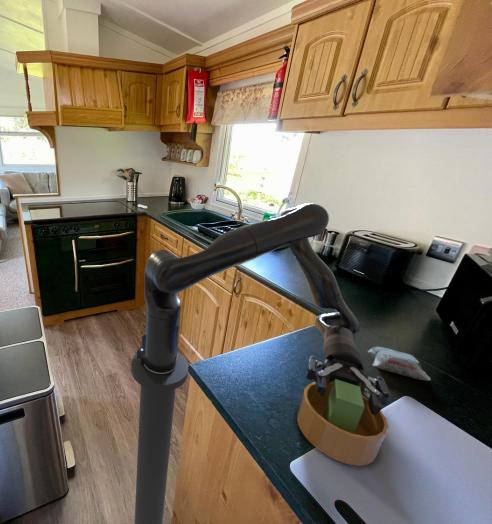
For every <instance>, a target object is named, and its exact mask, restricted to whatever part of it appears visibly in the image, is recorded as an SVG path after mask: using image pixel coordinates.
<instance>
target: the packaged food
mask: <svg viewBox="0 0 492 524" xmlns="http://www.w3.org/2000/svg"><path fill="white" fill-rule="evenodd" d="M367 353H368V354H370V355H371V357H372V358H373V359H374V360H373V363H372V365H371V366H372V367H374V368H378V369H379V370H381V371H386V372H390V373H394V374H397V375H400V376H403V377H407V378H411V379H415V380H421V381H427V382H430V381H431V380H432V378H431V377H430V376H429V375H428V374H427V373H426V371H424V370H423V368H422V366H421V363H420V362H419V360H418V359H417V358H416V357H414V355H412V354H409V353H406V352H402V351H397V350H395V349H391V348H387V347H383V346H373V347H371V348H369V349H368V350H367Z"/></svg>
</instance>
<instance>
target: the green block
mask: <svg viewBox="0 0 492 524" xmlns="http://www.w3.org/2000/svg"><path fill="white" fill-rule="evenodd" d="M332 383H333V386H332V389H331V392H330V395H329V398H328V401H327V404H326V407H325V410H324V413H323V418H324V419H325V420H326V421H328V422H329V423H331V424H333V425H334V426H336V427H338V428H340V429H342V430H344V431H347V432H350V433H352V434H354V433H355V430H356V427H357V425H358V422H359V420H360V417H361V415H362V412H363V410H364V403H363V398H362V394H361V389H360V388H361V386H356V385H352V384H349V383H346V382H343V381H340V380H337V379H335V380H334V382H332Z"/></svg>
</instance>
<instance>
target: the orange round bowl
mask: <svg viewBox="0 0 492 524" xmlns="http://www.w3.org/2000/svg"><path fill="white" fill-rule="evenodd" d="M333 383H334V382H331V383H329V384H326V392H325V395H324V396H321V395H320V393H319V392H317V390H316V382H315V381H313V382H311V383H309V384H307V385H306V387H305V388H304V390H303V393H302V397H301V400H300V403H299V407H298V411H297V416H296V420H297V425H298V427H299V430H300V431H301V433H302V435H303V436H304V437H305V439H306V440H307V441H308V442H309V443H310V444H311V445H312V446H313V447H315V448H316V449H317V450H318V451H320V452H321V453H323V455H326V456H327V457H329V458H331V459H333V460H335V461H336V462H340V463H342V464H346V465H349V466H357V467H358V466H359V467H361V466H367V465H370V464H371V463H372V462H374V460H375V459H377V456H378V454H379V451H380V450H381V446H382V445H383V442H384V440H385V438H386V436H387V433H388V429H389V424H388V421H387V418H386V416H385V415H384V413H383V412H382V410H381V411H380V413H377V415H374V414H371V411H370V407H369V403H368V401H369V400H368V399H367V398H366V397H364V396H363V395H362V398H363V403H364V410H363V412H362V415H361V417H360V420H359V422H358V425H357V427H356V430H355V433H354V434H352V433H350V432H347V431H344V430H342V429H340V428H338V427H336V426H334V425H333V424H331V423H329V422H328V421H326V420H325V419H324V418H323V413H324V410H325V407H326V404H327V401H328V398H329V395H330V392H331V389H332V386H333Z"/></svg>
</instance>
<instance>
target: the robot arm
mask: <svg viewBox="0 0 492 524" xmlns="http://www.w3.org/2000/svg"><path fill="white" fill-rule="evenodd" d="M329 215H330V214H329V213H328V211H327V209H326V208H324V207H323V206H322V205H320V204H317V203H303V204H301V205H297V206H295V207H294V206H293V207H291V208H288V209H285V210H284V211H282V212H281V214H280V216H279V217H275V218H272V219H266V220H262V221H257V222H253V223H250V224H245V225H242V226H239V227H237V228H234V229H231V230H228V231H226V232H223V233H222V234H221V235H218V237H217V238H215V240H213V242H212V243H210V245H208V246H207V247H206V248H205V249H204V250H201V251H199V252H196V253H193V254H191V255H187V256H182V257H179V256H178V255H176V254H175V253H174V252H172V251H171V250H167V249H159V250H156V251H154V252H152V253H151V254H150V256H149V257H148V258H147V260H146V262H145V266H144V279H143V280H144V283H143V287H144V288H143V292H144V301H145V307H146V308H145V329H144V333H143V334H142V336H141V344H140V346H139V347H138V348H137V350H136V353H137V358H139V359H141V365H143V366H144V367H145V369H146V370H147V371H149V372H150V373H152V374H155V375H167V374H170V373H172V372H173V371H174V370H175V369H176V362H177V356H178V354H177V352H178V349H179V339H180V338H179V337H180V327H181V318H182V307H183V306H182V302H181V299H180V296H179V293H181V292H183V291H185V290H187V289H188V288H191V287H193V286H194V285H196V284H198V283H201V282H202V281H204V280H207V278H210V277H212V276H214V275H218V274H220V273H222V272H225V271H227V270H229V269H231V268H234V267H237V266H240V265H243V264H246V263H247V262H251V261H253V260H256V259H257V258H260V257H263V256H265V255H266V254H269V253H272V252H274V251H275V250H277V249H280V248H281V247H283V246H286V245H287V246H288V248H289V249H290V251H291V253H292V254H293V256H294V259H295V260H296V262H297V264H298V265H299V267H300V269H301V272H302V274H303V276H304V278H305V280H306V284H307V286H308V289H309V292H310V295H311V297H312V300H313V303H314V305H315V306H316V307H317V308H319V309H325V310H326V309H327V310H328V309H329V310H335V312H328V313H322V314H319V315H317V317H316V318H315V319H314V326H315V329H316V331H317V333H318V335H319V336H320V337H321V339H322V342H323V345H322V351H321V354H322V360H323V361H320V360H317V357H316V356H314V355H310V356H309V360H308V363H307V366H306V367H307V368H306V375H305V378H306V379H307V380H309V381H312V380H313V382H316V390H317V392H319V393H320V395H321V396H324V395H325V392H326V384H329V383H331V382H332V383H334V380H335V379H337V380H340V381H343V382H346V383H349V384H352V385H356V386H359V387H360V389H361V394H362V395H363V396H364V397H366V398H367V399H368V400H369V401H368V403H369V407H370V411H371V414H374V415H377V413H380V411H381V412H382V408H383V406H387V405H388V402H389V399H390V398H391V396H392V394H391V392H390V389H389V388H388V385H387V383H386V381H385V379H384V377H382V376H381V375H377V376H376V377H371V376H368V374H367V373H366V372H365V370H364V364H363V360H362V357H361V353H360V349H359V347H358V345H357V342H356V338H355V336H357V335H358V334H359V333H360V330H361V324H360V322H359V320H358V318H357V316H356V315H355V314H354V313H353V311H352V310H351V309H350V308H349V306H348V305H347V303H346V302H345V299H344V298H343V295H342V292H341V289H340V287H339V284H338V281H337V278H336V276H335V275H334V273H333V272H332V270H331V268H329V266H328V265H327V264H326V263H325V262H324V260H322V259H321V257H319V255H318V254H317V253H316V252H315V249H313V247H312V245H311V242H310V239H309V238H313V237H317V236H319V235H320V234H322V233H323V232H324V231H325V230H326V229H327V227H328V225H329V222H330V216H329ZM319 368H320V369H321V371H316V370H318V369H319Z"/></svg>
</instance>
